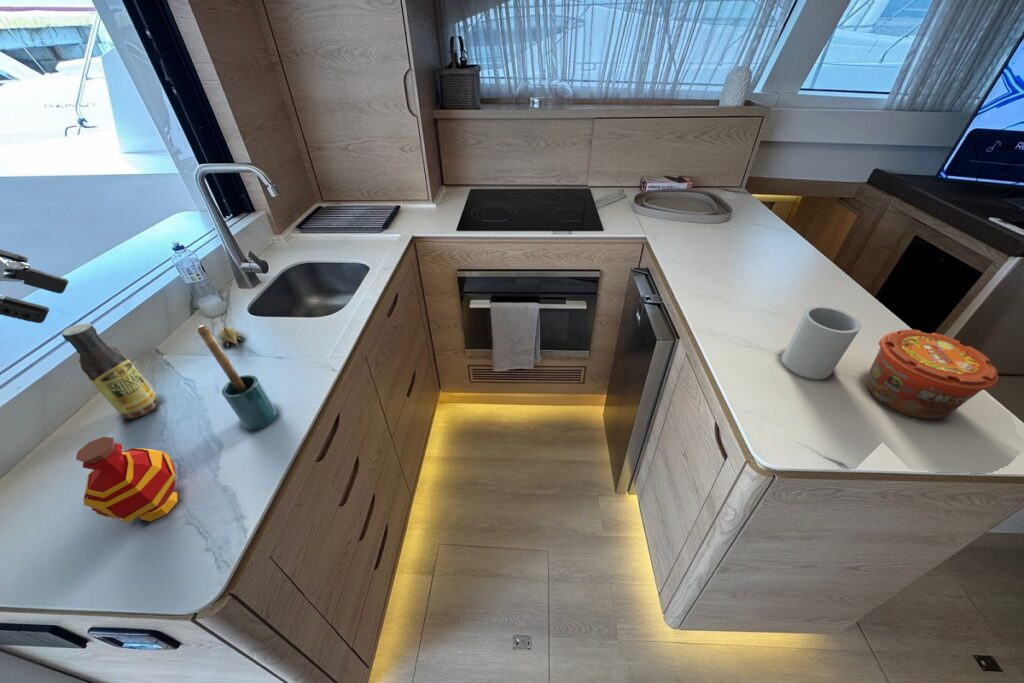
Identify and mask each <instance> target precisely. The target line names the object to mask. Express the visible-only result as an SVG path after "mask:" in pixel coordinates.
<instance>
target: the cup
mask: <svg viewBox="0 0 1024 683" xmlns="http://www.w3.org/2000/svg"><path fill="white" fill-rule="evenodd" d="M861 328H862V324H861V323H860V321H859V319H857V318H856V317H855V316H854V315H852V314H850V313H849V312H846V311H844V310H841V309H838V308H834V307H830V306H824V305H816V306H810V307H808V308H806V310H805V311H804V313H803V314H802V317H801V319H800V321H799V322H798V325H797V327H796V329H795V331H794V332H793V334H792V336H791V338H790V340H789V342H788V343H787V346H786V348H785V350H784V351H783V353H782V356H781V362H782V364H783V365H784V366H785V367H786V368H787V369H788V370H790V371H791V372H792V373H794V374H796V375H798V376H801V377H803V378H807V379H812V380H824V379H828V378H829V377H831V375H832V373H833V372H834V370H835V369H836V367H837V365H838V364H839V363H840V362H841V360H842V358H843V356H844V355H845V353H846V352H847V350H848V348H849V347H850V345H851V344H852V343H853V341H854V340H855V337H856V336H857V335H858V334H859V332H860V330H861Z"/></svg>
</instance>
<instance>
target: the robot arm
mask: <svg viewBox="0 0 1024 683" xmlns="http://www.w3.org/2000/svg"><path fill="white" fill-rule="evenodd" d="M4 259H6V260H4ZM28 261H29V258H28V257H26V256H24V255H21V254H18V253H14V252H10V251H7V250H4V249H1V248H0V282H13V283H14V282H15V283H22V284H23V285H27V286H30V287H33V288H37V289H40V290H45V291H48V292H51V293H55V294H59V295H60V294H63V293H64V292H65V291H66V289H67V287H68V284H69V280H68V279H67V278H64V277H61V276H57V275H55V274H51V273H48V272H44V271H41V270H39V269H34V268H31V265H30V264H29V263H27V262H28ZM49 312H50V309H49V307H47V306H45V305H41V304H37V303H34V302H30V301H26V300H22V299H18V298H16V297H15V298H14V297H12V296H11V297H10V296H6V295H5V296H4V298H3V296H2V295H1V294H0V316H4V317H8V318H13V319H17V320H22V321H26V322H32V323H36V324H42V323H44V321H45V320H46V319H47V316H48V314H49Z"/></svg>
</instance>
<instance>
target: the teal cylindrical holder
mask: <svg viewBox="0 0 1024 683" xmlns="http://www.w3.org/2000/svg"><path fill="white" fill-rule="evenodd" d="M239 377H240V378H241V380H242V382H243V383H244V385H245V386H246V388H250V389H248V390H247V391H245V392H243V393H240V394H237V393H238V392H237V390H236V389H235V387H234V386H233V384H232V383H231V381H230V380H229V381H228V382H226V383H225V385H224V386H223V387H222V389H221V395H222V397H223V398H224V400H225V401H226V402H227V404H228V405H229V406H230V408H231V409H232V411H233V412H234V414H235V415H236V416H237V418H238V419H239V421H240V422H241V423H242V425H243V426H244V428H245V429H247V430H251V431H257V430H260V429H263V428H266V427H267V426H269V425H270V424H272V423H273V421H275V419H276V417H277V415H278V411H277V409H276V408H275V406H274V404H273V402H272V400H271V399H270V397H269V395H268V394H267V392H266V390H265V389H264V386H262V383H261V382H260V380H259V378H258V377H257V376H255V375H252V374H243V375H239ZM236 394H237V395H236Z"/></svg>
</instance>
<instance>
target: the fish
mask: <svg viewBox="0 0 1024 683" xmlns="http://www.w3.org/2000/svg"><path fill="white" fill-rule="evenodd" d="M239 336H240V337H239ZM241 336H242V337H243V334H242V333H241V332H238V331H236V330H235V329H234V328H232V327H228V326H227V327H226V326H225V325H223V327H222V328H221V329H220V330H219V337H220V338H219V344H220V346H221V345H223V344H224V341H225V345H226V347H227V348H229V346H230V343H231V344H234V345H236V346H237V347H238V348H239V349H241V345H240V344H239V343H238V341H243V339H242V338H241Z"/></svg>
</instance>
